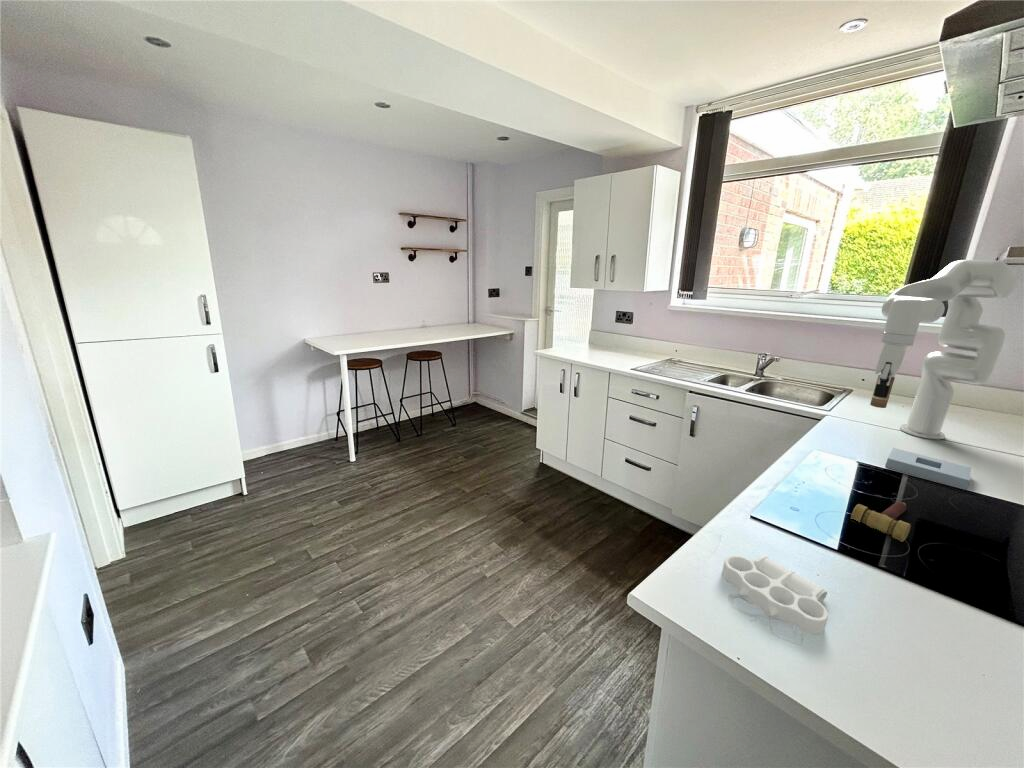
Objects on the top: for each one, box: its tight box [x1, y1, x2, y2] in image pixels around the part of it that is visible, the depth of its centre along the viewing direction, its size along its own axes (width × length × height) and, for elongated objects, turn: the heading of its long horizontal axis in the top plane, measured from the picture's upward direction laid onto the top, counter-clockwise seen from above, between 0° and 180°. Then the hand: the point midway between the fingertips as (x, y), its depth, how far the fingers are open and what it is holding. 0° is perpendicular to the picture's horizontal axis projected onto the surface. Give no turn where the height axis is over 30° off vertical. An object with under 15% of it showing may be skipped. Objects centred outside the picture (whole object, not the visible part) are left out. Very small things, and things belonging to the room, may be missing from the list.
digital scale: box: [885, 447, 972, 491], centre depth 131 cm, size 12×18×3 cm, turn 43°
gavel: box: [850, 501, 912, 543], centre depth 106 cm, size 21×5×10 cm
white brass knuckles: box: [721, 554, 829, 635], centre depth 80 cm, size 3×18×15 cm
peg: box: [869, 374, 896, 409], centre depth 136 cm, size 4×4×10 cm
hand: (881, 394), depth 136 cm, fingers closed on peg, 4 cm apart
